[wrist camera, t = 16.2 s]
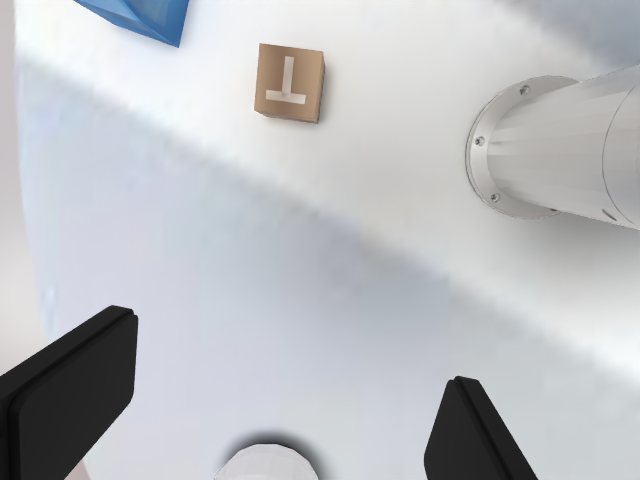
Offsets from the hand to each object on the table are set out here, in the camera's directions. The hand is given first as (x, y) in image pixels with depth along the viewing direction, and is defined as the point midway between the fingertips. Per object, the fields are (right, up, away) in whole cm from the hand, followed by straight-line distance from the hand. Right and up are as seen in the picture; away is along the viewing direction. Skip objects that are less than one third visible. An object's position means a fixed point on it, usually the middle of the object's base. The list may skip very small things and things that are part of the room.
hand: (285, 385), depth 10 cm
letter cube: (-1, +18, +23) cm, 29 cm away
